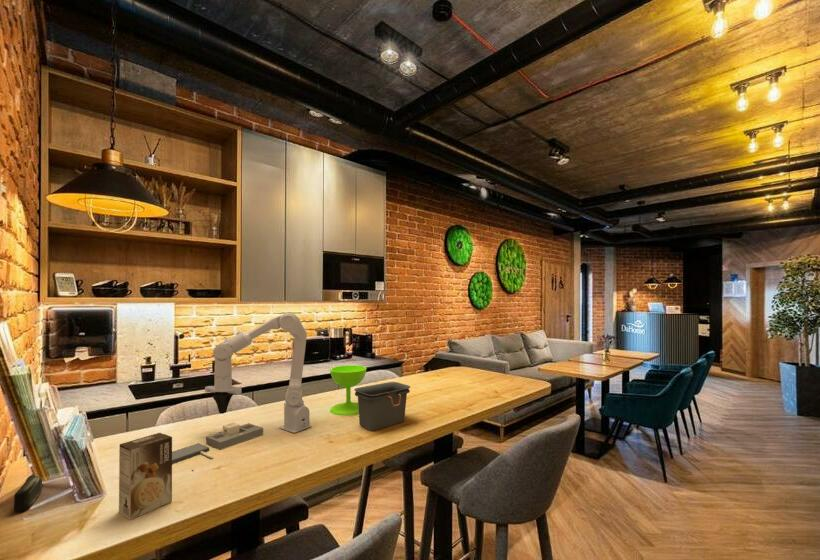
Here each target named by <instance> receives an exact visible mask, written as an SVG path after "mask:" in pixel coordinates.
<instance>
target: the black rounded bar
mask: <svg viewBox="0 0 820 560" xmlns="http://www.w3.org/2000/svg"><path fill="white" fill-rule="evenodd" d="M34 474H35V473H33V474H31V475H29V476H28V477H27V478H26V479H25V482H23V484H22V485H21V487H19V489H18V490H17V491H16V492H15V493H14V495H13V496H14V498H13V500H14V501H13V512H14V513H17V512H22V511H26V510H27V509H28V508H30V507H31V506H32V505H33V504H34V502H35V501H36V499H37V498H38V497H39V495H40V494H41V493H42V491H43V488H44V485H43V484H42V479H41V478H39V477H38V476H35V475H34Z"/></svg>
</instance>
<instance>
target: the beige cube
mask: <svg viewBox="0 0 820 560" xmlns="http://www.w3.org/2000/svg"><path fill="white" fill-rule="evenodd" d="M239 426H240V424H238V423H235V422H231V423H227V424H224V425H222V433H224V434H227V435H229V436H232V435H235V434H238V433H239Z"/></svg>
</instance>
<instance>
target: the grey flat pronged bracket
mask: <svg viewBox="0 0 820 560" xmlns="http://www.w3.org/2000/svg"><path fill="white" fill-rule="evenodd" d="M208 452H210V447H208V446H206V445H204V444H202V443H199V442H197V443H196V444H192V445H188V446H186V447H185V446H184V447H183V448H182V447H181V448H180V449H179V448H178V449H177V450H172V465H173V464H176V463H179V462H182V461H185V460H187V458H188V459H191V458H193V457H196V456H200V455H202V456H205V457H207V458H209V459H212V460H213V459H214V455H211V454H209V453H208ZM190 457H191V458H190Z"/></svg>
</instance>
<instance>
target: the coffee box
mask: <svg viewBox="0 0 820 560" xmlns="http://www.w3.org/2000/svg"><path fill="white" fill-rule="evenodd" d="M118 446H119V449H118V450H119V460H118V461H119V465H118V467H119V468H118V470H119V471H118V473H119V474H118V483H119V484H118V513H119V514H121V515H122V516H124V517H126V518H127V519H128V520H133V519H136V518H138V517H140V516H143V515H144V514H147V513H149V512H151V511H154V510H156V509H158V508H160V507H162V506H165V505H167V504H170V503H171V502H173V464H172V452H173V437H172V436H170V435H168V434H166V433H163V432H157V433H154V434H150V435H146V436H143V437H139V438H136V439H132V440H129V441H125V442H123V443H120V444H119V445H118Z"/></svg>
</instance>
